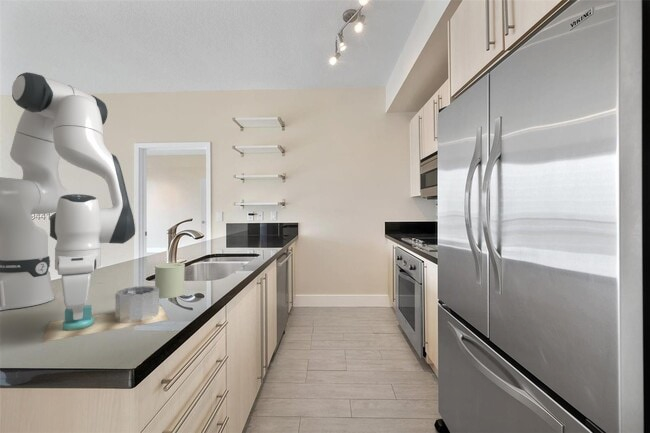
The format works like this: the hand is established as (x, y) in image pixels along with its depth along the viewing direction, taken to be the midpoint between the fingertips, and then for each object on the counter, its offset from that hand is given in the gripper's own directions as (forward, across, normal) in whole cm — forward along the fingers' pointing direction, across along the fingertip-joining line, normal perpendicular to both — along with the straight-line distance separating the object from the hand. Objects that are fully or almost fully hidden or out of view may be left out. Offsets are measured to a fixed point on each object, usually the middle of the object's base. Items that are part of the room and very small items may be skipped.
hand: (78, 316), depth 75 cm
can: (+4, -18, +23) cm, 30 cm away
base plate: (+4, 0, +6) cm, 8 cm away
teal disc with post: (+2, 0, 0) cm, 2 cm away
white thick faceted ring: (+2, 0, +13) cm, 13 cm away
